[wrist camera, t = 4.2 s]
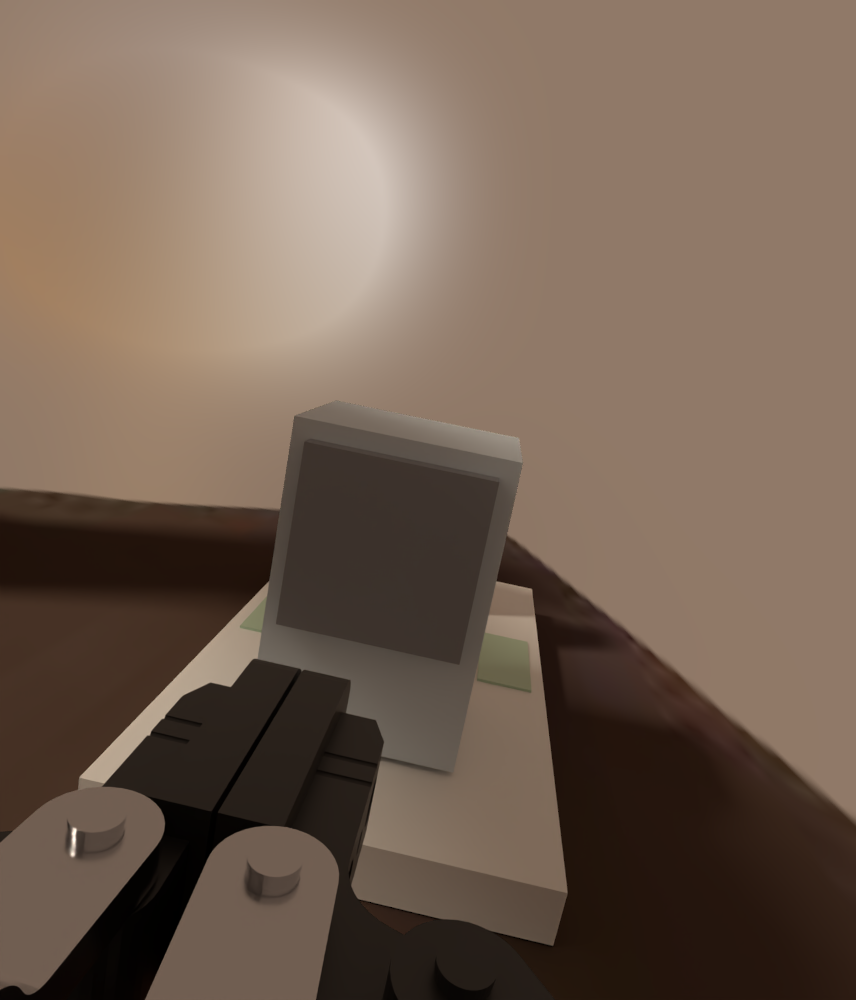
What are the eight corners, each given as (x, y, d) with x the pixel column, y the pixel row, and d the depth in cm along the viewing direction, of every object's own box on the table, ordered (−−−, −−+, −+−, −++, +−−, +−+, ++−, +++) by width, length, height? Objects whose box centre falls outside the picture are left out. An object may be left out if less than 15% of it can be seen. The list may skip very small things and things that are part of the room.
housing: (553, 945, 18) (568, 889, 18) (74, 830, 19) (79, 773, 18) (525, 615, 39) (532, 587, 39) (303, 567, 40) (308, 539, 40)
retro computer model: (451, 785, 20) (523, 466, 18) (240, 736, 21) (288, 418, 19) (462, 691, 26) (518, 437, 24) (294, 653, 26) (336, 400, 24)
